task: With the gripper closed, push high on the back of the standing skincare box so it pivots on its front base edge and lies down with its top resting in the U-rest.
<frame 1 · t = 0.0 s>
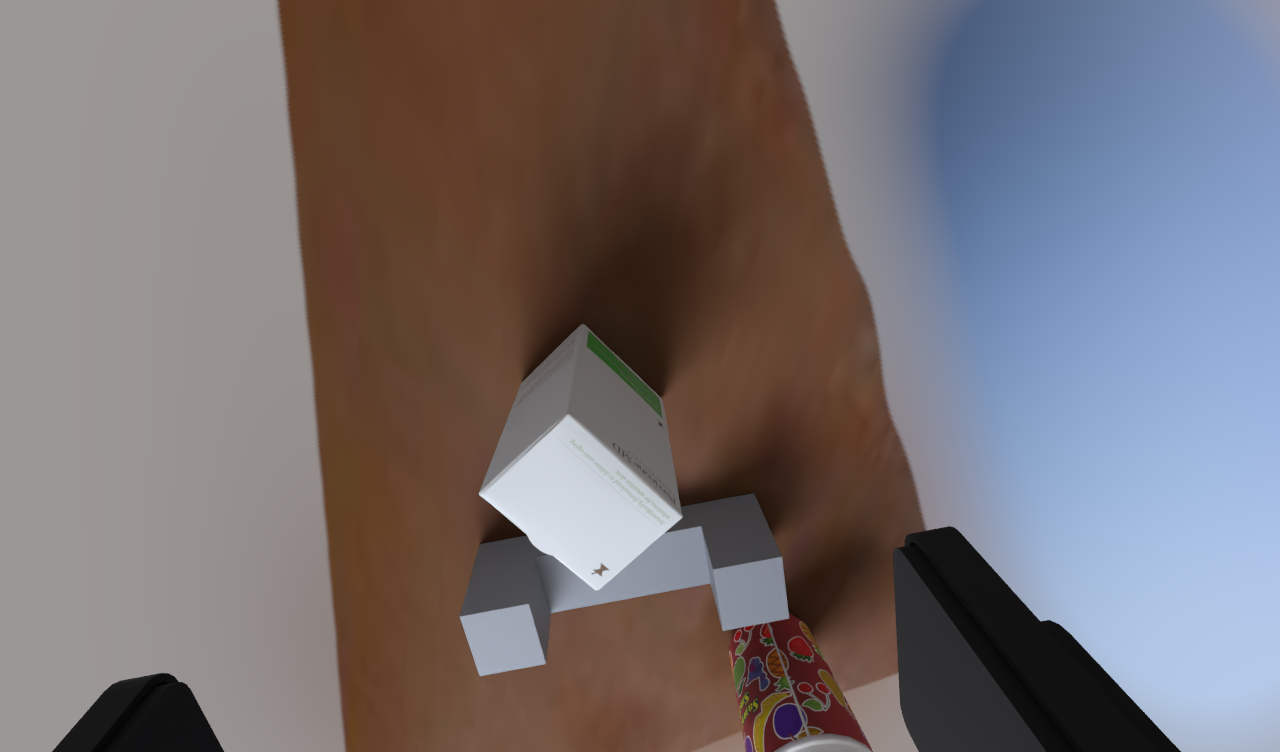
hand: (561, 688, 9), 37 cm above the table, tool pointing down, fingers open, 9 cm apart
smoothie: (766, 633, 55), on the table
u rest: (622, 546, 51), on the table
skincare box: (589, 390, 47), on the table
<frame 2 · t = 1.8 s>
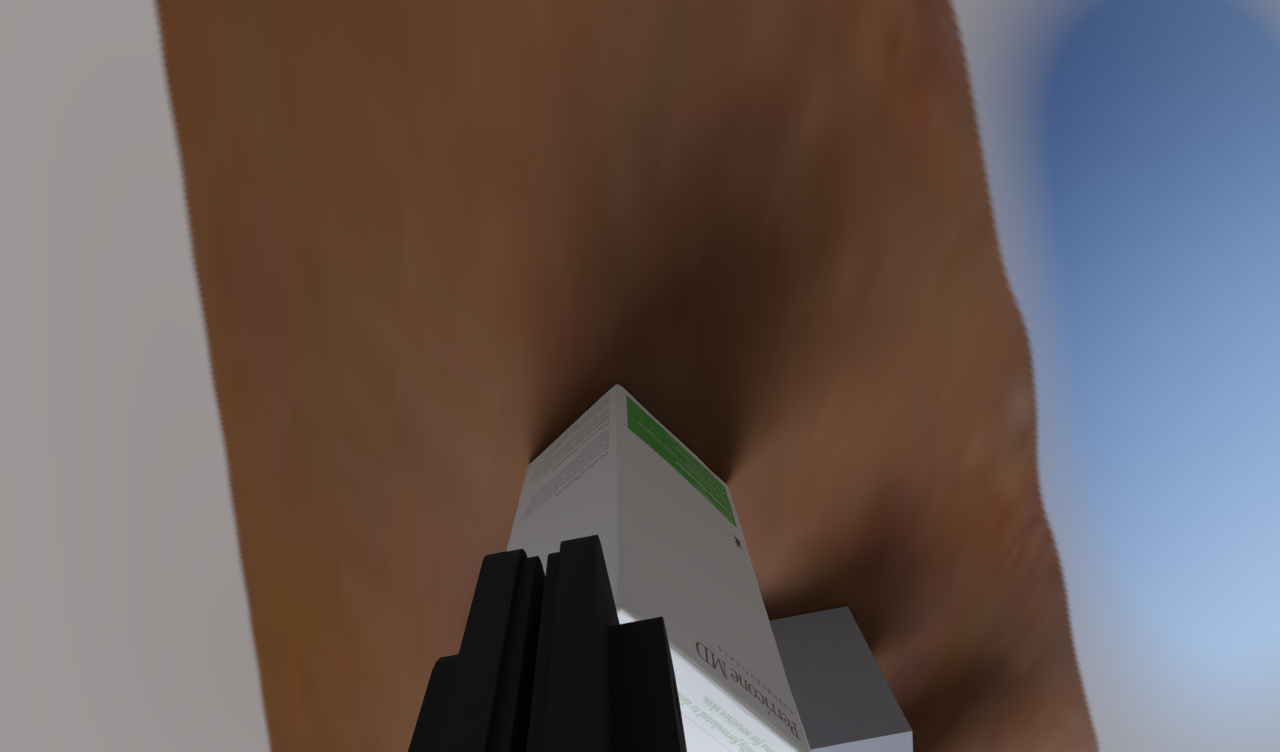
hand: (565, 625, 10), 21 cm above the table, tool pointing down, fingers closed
u rest: (666, 675, 38), on the table
skincare box: (624, 473, 33), on the table
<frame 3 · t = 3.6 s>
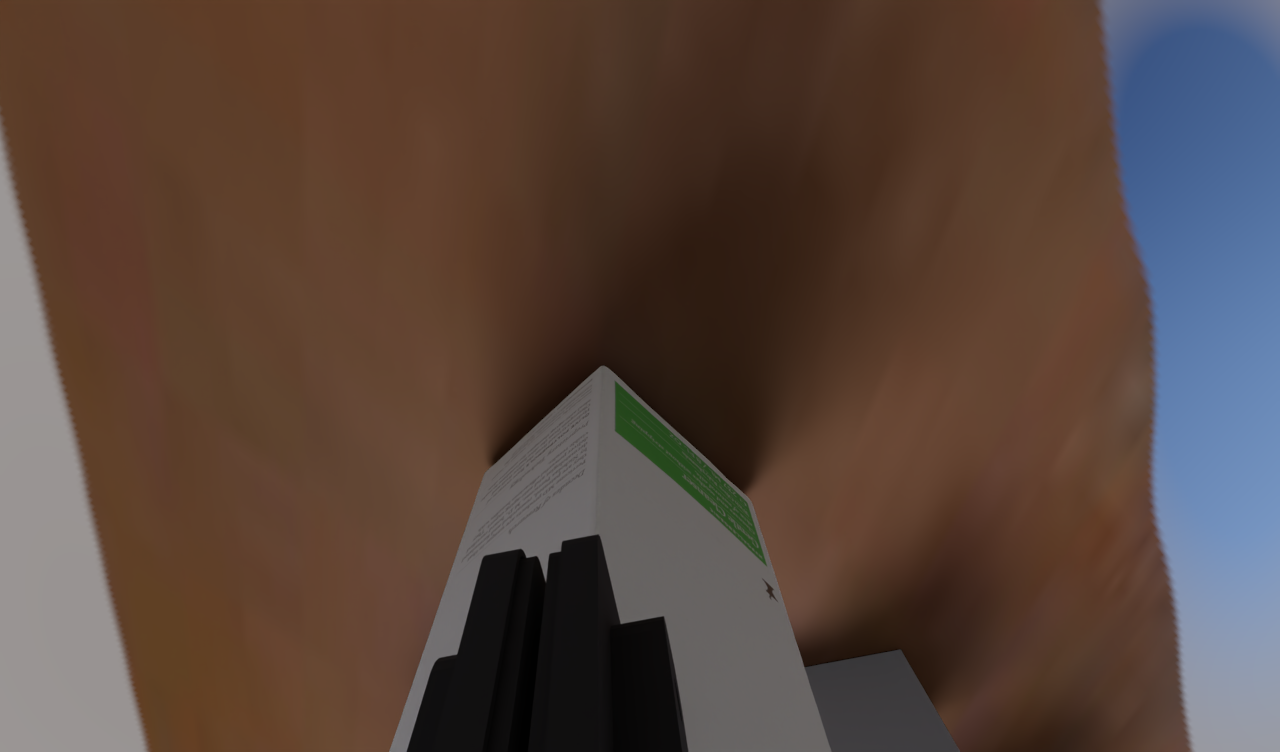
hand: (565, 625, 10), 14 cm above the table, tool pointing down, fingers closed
u rest: (668, 736, 30), on the table
skincare box: (613, 483, 25), on the table, touching gripper
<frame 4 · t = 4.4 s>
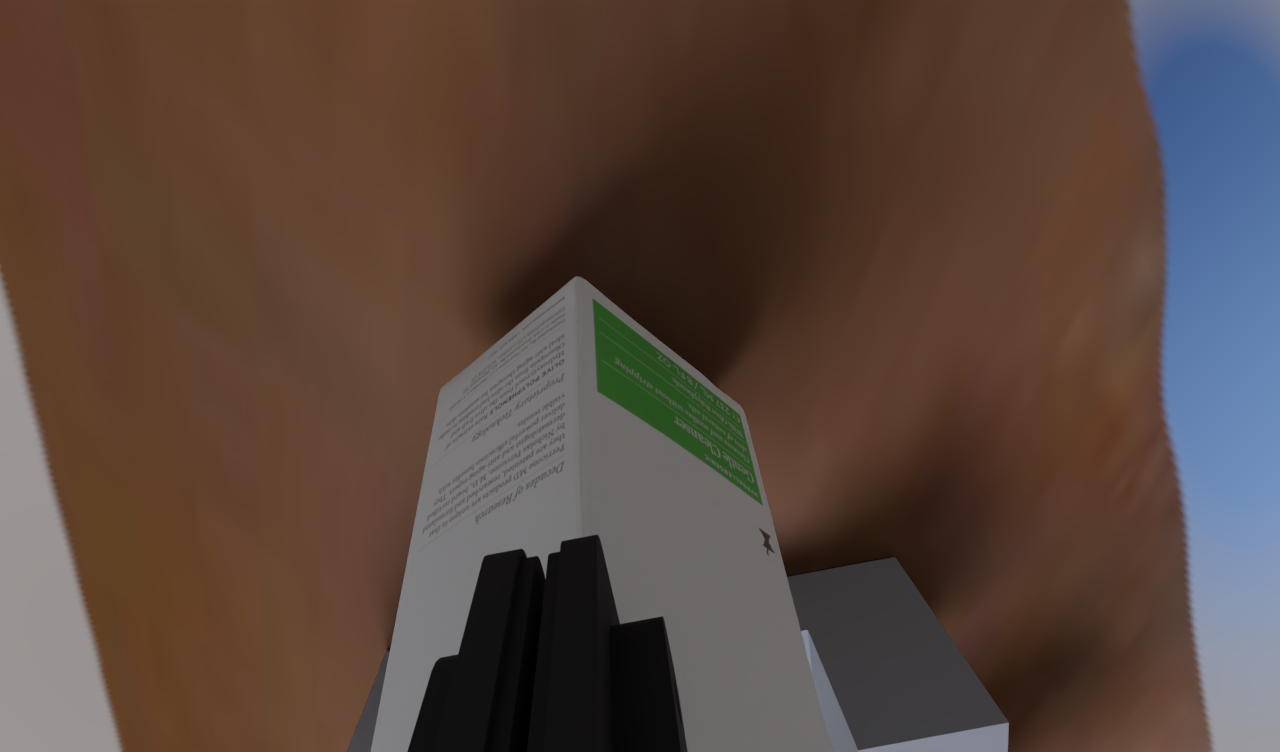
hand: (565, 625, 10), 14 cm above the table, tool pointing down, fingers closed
u rest: (650, 651, 28), on the table
skincare box: (589, 393, 22), point 2 cm above the table, touching gripper
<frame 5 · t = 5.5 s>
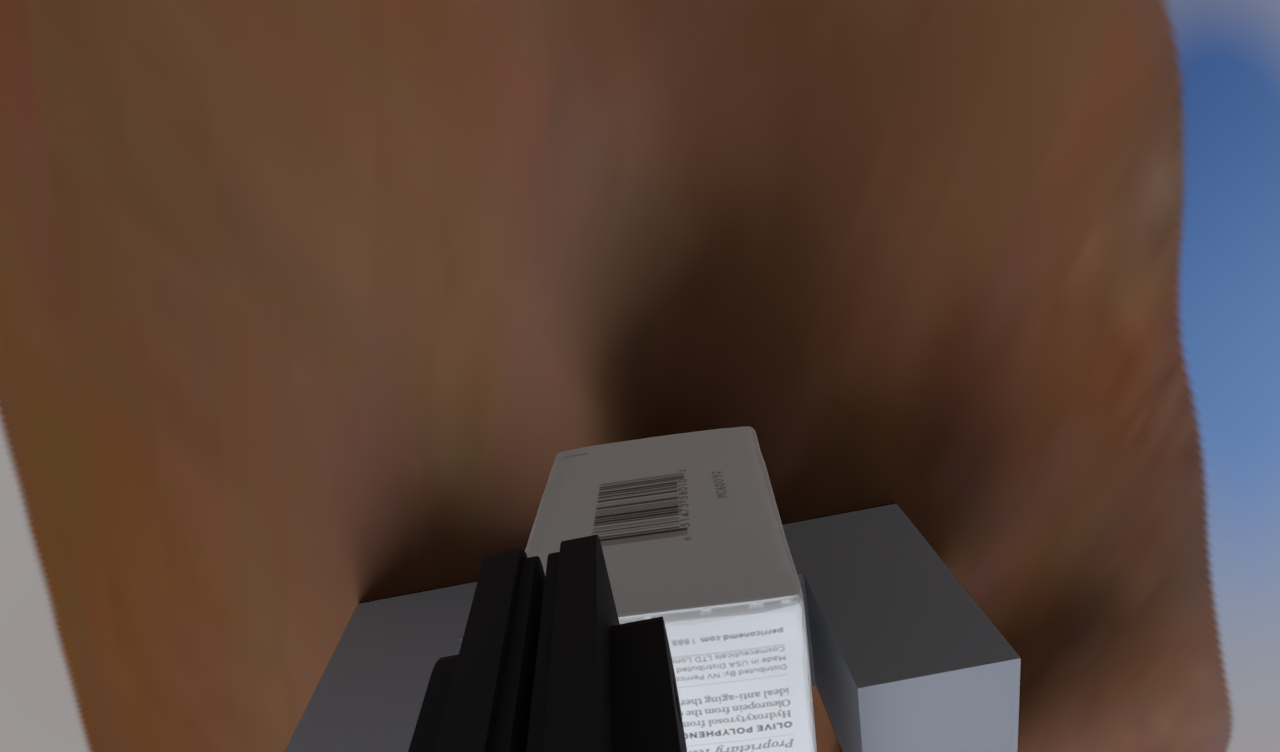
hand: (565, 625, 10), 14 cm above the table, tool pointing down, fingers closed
u rest: (638, 605, 27), on the table
skincare box: (640, 501, 17), point 7 cm above the table, touching u rest
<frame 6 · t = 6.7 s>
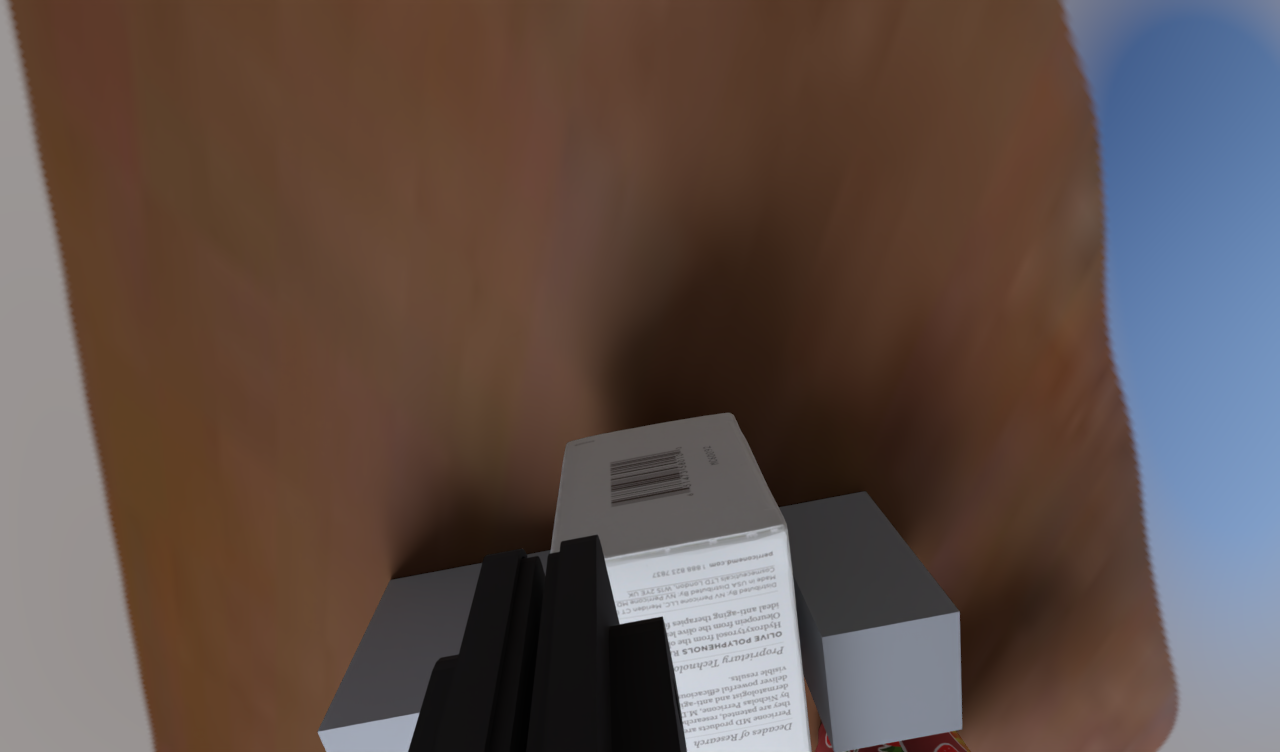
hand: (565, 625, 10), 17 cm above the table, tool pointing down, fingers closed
smoothie: (871, 725, 34), on the table
u rest: (638, 583, 30), on the table
skincare box: (648, 470, 20), point 7 cm above the table, touching u rest
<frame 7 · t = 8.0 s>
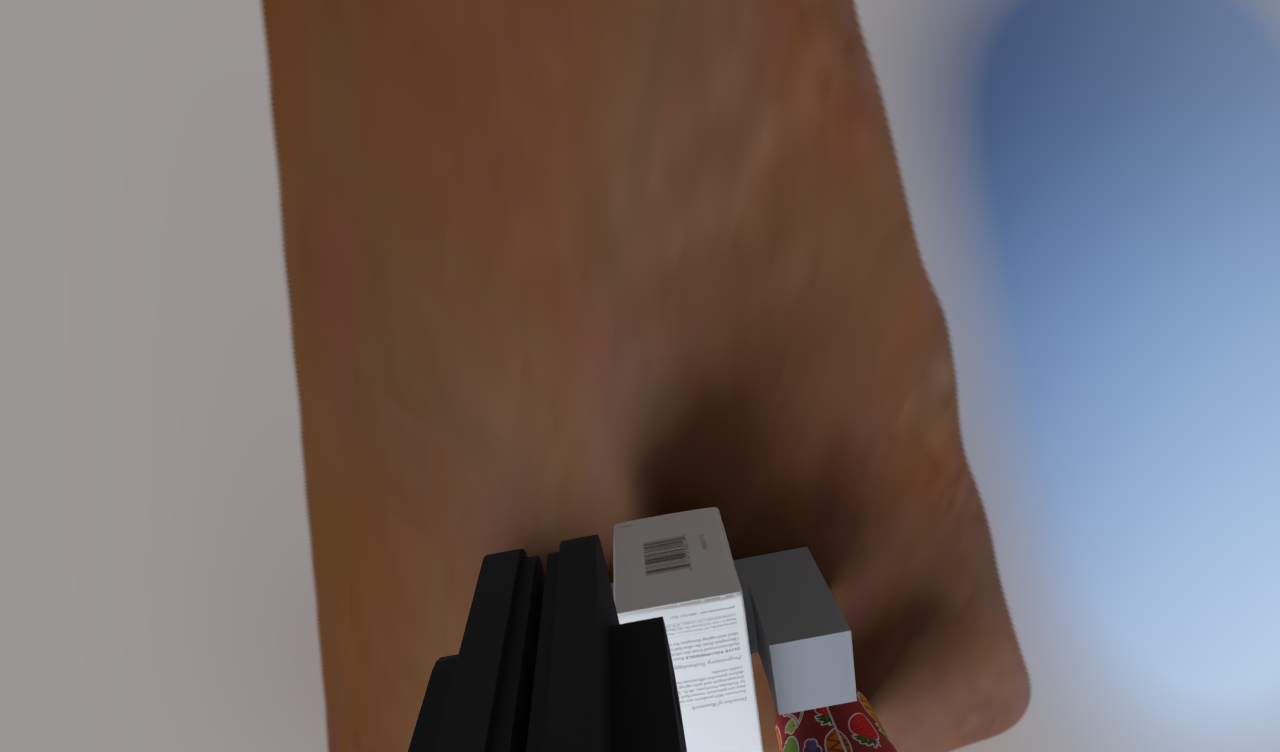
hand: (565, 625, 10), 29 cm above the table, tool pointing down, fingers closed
smoothie: (816, 702, 49), on the table
u rest: (655, 606, 45), on the table
skincare box: (666, 552, 35), point 7 cm above the table, touching u rest
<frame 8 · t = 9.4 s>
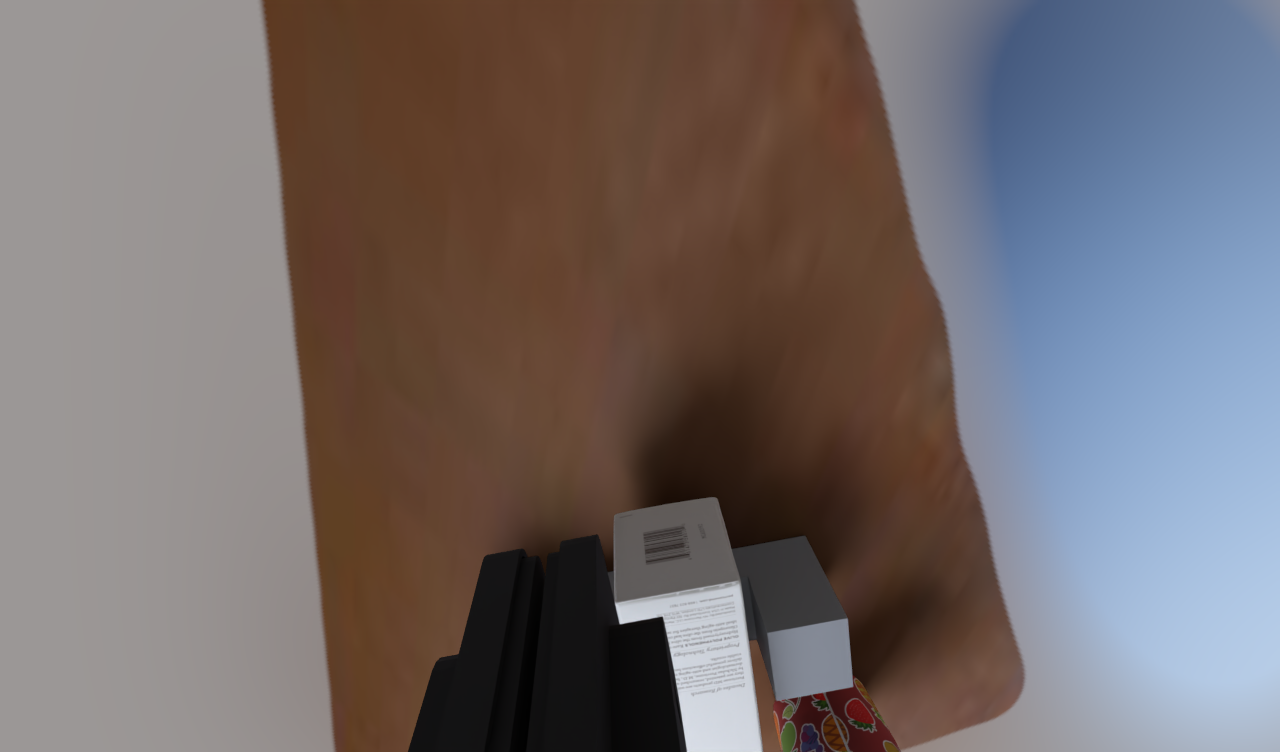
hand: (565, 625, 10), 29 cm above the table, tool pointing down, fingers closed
smoothie: (813, 688, 49), on the table
u rest: (655, 594, 45), on the table
skincare box: (666, 541, 35), point 7 cm above the table, touching u rest
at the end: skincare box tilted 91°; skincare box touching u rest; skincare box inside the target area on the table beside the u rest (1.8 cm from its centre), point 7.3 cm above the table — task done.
